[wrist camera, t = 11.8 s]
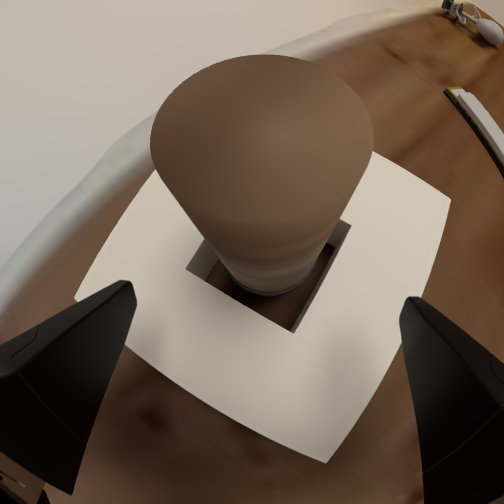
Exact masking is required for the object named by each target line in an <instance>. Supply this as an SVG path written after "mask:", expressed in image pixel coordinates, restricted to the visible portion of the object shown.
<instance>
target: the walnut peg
mask: <svg viewBox="0 0 504 504" xmlns="http://www.w3.org/2000/svg"><path fill="white" fill-rule="evenodd" d="M373 145H374V131H373V126H372V121H371V118H370V116H369V113H368V110H367V109H366V107H365V105H364V103H363V102H362V100H361V99H360V97H359V96H358V95H357V93H356V92H355V91H354V90H353V89H352V88H351V87H350V86H349V85H348V84H347V83H346V82H344V81H343V80H342V79H341V78H339V77H338V76H336V75H335V74H333V73H332V72H330V71H328V70H326V69H325V68H323V67H320V66H318V65H316V64H313V63H311V62H308V61H305V60H301V59H298V58H293V57H288V56H281V55H249V56H242V57H236V58H232V59H228V60H224V61H222V62H219V63H216V64H213V65H211V66H209V67H207V68H204V69H202V70H200V71H199V72H197V73H195V74H193V75H192V76H191V77H189V78H188V79H186V80H185V81H183V82H182V83H181V84H180V85H179V86H178V87H177V88H176V89H174V91H173V92H172V93H171V94H170V95H169V96H168V97H167V99H166V100H165V102H164V103H163V104H162V106H161V107H160V109H159V111H158V113H157V115H156V117H155V120H154V123H153V126H152V131H151V136H150V149H151V156H152V160H153V163H154V166H155V169H156V171H157V172H158V174H159V176H160V178H161V180H162V181H163V182H164V184H165V185H166V187H167V188H168V189H169V191H170V192H171V194H172V195H173V196H174V198H175V199H176V200H177V202H178V203H179V205H180V206H181V207H182V209H183V210H184V211H185V213H186V214H187V216H188V217H189V218H190V220H191V221H192V222H193V224H194V225H195V226H196V228H197V229H198V231H199V232H200V233H201V235H202V236H203V237H204V239H205V240H206V241H207V243H208V244H209V245H210V247H211V248H212V249H213V251H214V252H215V253H216V255H217V256H218V257H219V259H220V260H221V261H222V263H223V266H224V268H225V270H226V271H227V273H228V274H229V275H230V277H231V278H232V279H233V280H234V281H235V282H236V283H237V284H238V285H239V286H241V287H242V288H244V289H246V290H248V291H250V292H252V293H255V294H258V295H261V296H266V297H275V296H280V295H282V294H285V293H286V292H289V291H291V290H293V289H295V288H296V287H298V286H299V285H301V284H302V283H303V282H304V281H305V280H306V279H307V278H308V276H309V275H310V273H311V272H312V270H313V269H314V267H315V264H316V262H317V259H318V256H319V254H320V252H321V251H322V249H323V247H324V246H325V244H326V242H327V240H328V239H329V237H330V235H331V233H332V232H333V230H334V228H335V226H336V224H337V223H338V221H339V219H340V217H341V215H342V214H343V212H344V210H345V208H346V206H347V204H348V203H349V201H350V199H351V197H352V195H353V193H354V191H355V190H356V188H357V186H358V184H359V182H360V180H361V178H362V176H363V174H364V172H365V170H366V168H367V166H368V164H369V161H370V159H371V156H372V151H373Z"/></svg>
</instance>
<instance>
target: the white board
mask: <svg viewBox="0 0 504 504" xmlns="http://www.w3.org/2000/svg"><path fill="white" fill-rule="evenodd" d="M450 201H451V199H449V198H448V197H447V196H445V195H444V194H442V193H441V192H439V191H438V190H436V189H435V188H433V187H432V186H430V185H429V184H427V183H426V182H424V181H423V180H421V179H419V178H418V177H416V176H415V175H413V174H411V173H410V172H408V171H406V170H405V169H403V168H401V167H400V166H398V165H396V164H395V163H393V162H391V161H389V160H388V159H386V158H384V157H382V156H380V155H379V154H377V153H375V152H373V151H372V156H371V159H370V161H369V164H368V166H367V168H366V170H365V172H364V174H363V176H362V178H361V180H360V182H359V184H358V186H357V188H356V190H355V191H354V193H353V195H352V197H351V199H350V201H349V203H348V204H347V206H346V208H345V210H344V212H343V214H342V215H341V217H340V219H339V221H338V223H337V224H336V226H335V228H334V230H333V232H332V233H331V235H330V237H329V239H328V240H327V243H328V244H330V245H332V246H334V247H336V248H335V250H334V252H333V254H332V256H331V257H330V259H329V261H328V263H327V265H326V267H325V269H324V271H323V273H322V275H321V276H320V278H319V280H318V282H317V284H316V286H315V288H314V289H313V291H312V293H311V295H310V297H309V298H308V300H307V302H306V304H305V306H304V307H303V309H302V311H301V313H300V314H299V316H298V318H297V320H296V321H295V323H294V325H293V326H292V328H291V330H290V332H289V331H288V330H286V329H284V328H282V327H281V326H279V325H277V324H275V323H274V322H272V321H270V320H268V319H267V318H265V317H263V316H262V315H260V314H258V313H256V312H255V311H253V310H251V309H250V308H248V307H246V306H245V305H243V304H241V303H239V302H238V301H236V300H234V299H233V298H231V297H229V296H228V295H226V294H225V293H223V292H221V291H220V290H218V289H216V288H215V287H213V286H211V285H210V284H208V283H207V282H205V280H206V278H207V277H208V275H209V274H210V272H211V270H212V269H213V267H214V265H215V264H216V262H217V261H218V259H219V257H218V256H217V255H216V253H215V252H214V251H213V249H212V248H211V247H210V245H209V244H208V243H207V241H206V240H205V239H204V237H203V236H202V235H201V233H200V232H199V231H198V229H197V228H196V226H195V225H194V224H193V222H192V221H191V220H190V218H189V217H188V216H187V214H186V213H185V211H184V210H183V209H182V207H181V206H180V205H179V203H178V202H177V200H176V199H175V198H174V196H173V195H172V194H171V192H170V191H169V189H168V188H167V187H166V185H165V184H164V182H163V181H162V180H161V178H160V176H159V174H158V172H157V171H156V169H155V170H154V172H153V173H152V174H151V176H150V177H149V178H148V180H147V181H146V183H145V184H144V185H143V187H142V188H141V189H140V191H139V192H138V194H137V195H136V196H135V198H134V199H133V201H132V202H131V204H130V205H129V207H128V208H127V210H126V211H125V212H124V214H123V215H122V217H121V219H120V220H119V222H118V223H117V225H116V226H115V228H114V229H113V231H112V232H111V234H110V236H109V237H108V239H107V240H106V242H105V244H104V245H103V247H102V249H101V250H100V252H99V254H98V255H97V257H96V259H95V260H94V262H93V264H92V266H91V267H90V269H89V271H88V273H87V275H86V276H85V278H84V280H83V282H82V284H81V286H80V287H79V289H78V291H77V293H76V295H75V297H74V299H75V300H76V301H77V302H79V301H81V300H83V299H85V298H87V297H88V296H90V295H92V294H94V293H96V292H98V291H99V290H101V289H103V288H105V287H107V286H109V285H111V284H113V283H114V282H116V281H118V280H129V281H131V282H132V284H133V287H134V291H135V295H136V298H137V308H136V311H135V314H134V317H133V320H132V323H131V326H130V329H129V333H128V336H127V339H126V342H125V345H126V346H127V347H129V348H130V349H131V350H132V351H134V352H135V353H136V354H137V355H139V356H140V357H141V358H142V359H144V360H145V361H146V362H148V363H149V364H150V365H152V366H153V367H154V368H156V369H157V370H158V371H160V372H161V373H162V374H164V375H165V376H167V377H168V378H169V379H171V380H172V381H174V382H175V383H176V384H178V385H179V386H181V387H182V388H184V389H185V390H187V391H188V392H190V393H191V394H193V395H194V396H196V397H197V398H199V399H201V400H202V401H204V402H205V403H207V404H208V405H210V406H212V407H213V408H215V409H217V410H218V411H220V412H222V413H223V414H225V415H227V416H228V417H230V418H232V419H234V420H235V421H237V422H239V423H241V424H243V425H244V426H246V427H248V428H250V429H252V430H254V431H256V432H258V433H260V434H262V435H263V436H265V437H267V438H269V439H271V440H274V441H276V442H278V443H280V444H282V445H284V446H286V447H288V448H290V449H293V450H295V451H297V452H299V453H302V454H304V455H306V456H309V457H311V458H314V459H316V460H319V461H321V462H324V463H327V462H328V461H329V459H330V458H331V457H332V455H333V454H334V453H335V451H336V450H337V449H338V447H339V446H340V445H341V443H342V442H343V440H344V439H345V438H346V436H347V435H348V433H349V432H350V430H351V429H352V428H353V426H354V425H355V423H356V422H357V420H358V418H359V417H360V415H361V414H362V412H363V411H364V409H365V408H366V406H367V404H368V403H369V401H370V399H371V398H372V396H373V394H374V393H375V391H376V389H377V388H378V386H379V384H380V382H381V381H382V379H383V377H384V375H385V373H386V371H387V370H388V368H389V366H390V364H391V362H392V360H393V358H394V356H395V354H396V352H397V350H398V348H399V346H400V344H401V342H402V340H401V333H400V326H399V316H400V313H401V310H402V308H403V305H404V302H405V300H406V298H407V297H409V296H418V297H420V298H421V296H422V293H423V291H424V288H425V285H426V283H427V280H428V277H429V274H430V271H431V269H432V266H433V263H434V260H435V256H436V253H437V250H438V247H439V243H440V240H441V237H442V233H443V229H444V226H445V222H446V218H447V214H448V210H449V206H450Z"/></svg>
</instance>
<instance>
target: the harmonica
mask: <svg viewBox="0 0 504 504" xmlns="http://www.w3.org/2000/svg"><path fill="white" fill-rule="evenodd" d="M443 93H444V94H445V95H446V96H447V97H448V99H449V100H450V101H451V102H452V103H453V105H454V106H455V107H456V108H457V110H458V111H459V112H460V113H461V115H462V116H463V117H464V118H465V120H466V121H467V122H468V124H469V125H470V126H471V128H472V129H473V131H474V132H475V133H476V135H477V136H478V138H479V139H480V141H481V142H482V143H483V145H484V146H485V148H486V150H487V151H488V153H489V154H490V156H491V157H492V159H493V161H494V162H495V164H496V165H497V167H498V169H499V171H500V172H501V174H502V176H503V178H504V134H503V133H502V131H501V130H500V128H499V127H498V126H497V124H496V123H495V121H494V120H493V119H492V117H491V116H490V115H489V113H488V112H487V111H486V110H485V108H484V107H483V106H482V105H481V103H480V102H479V101H478V100H477V99H476V98H475V96H474V95H472V94H471V93H466V92H465V91H464V90H463V89H462V88H461V87H448V88H446V90H445V91H444V92H443Z"/></svg>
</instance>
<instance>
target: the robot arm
mask: <svg viewBox="0 0 504 504" xmlns="http://www.w3.org/2000/svg"><path fill="white" fill-rule="evenodd" d="M136 308H137V298H136V295H135V291H134V287H133V284H132V282H131V281H129V280H118V281H116V282H114V283H113V284H111V285H109V286H107V287H105V288H103V289H101V290H99V291H98V292H96V293H94V294H92V295H90V296H88V297H87V298H85V299H83V300H81V301H79V302H77V303H76V304H74V305H72V306H70V307H68V308H67V309H65V310H63V311H61V312H59V313H58V314H56V315H54V316H52V317H50V318H49V319H47V320H45V321H43V322H42V323H41V324H38V325H36V326H35V327H33V328H31V329H29V330H28V331H26V332H24V333H22V334H20V335H18V336H17V337H15V338H13V339H11V340H9V341H7V342H5V343H3V344H1V345H0V504H50V502H49V500H48V497H47V494H46V492H45V491H44V490H43V487H44V485H45V482H47V483H48V484H50V485H52V486H54V487H55V488H57V489H59V490H61V491H63V492H65V493H67V494H69V495H72V493H73V490H74V486H75V482H76V479H77V475H78V472H79V468H80V465H81V462H82V458H83V455H84V452H85V449H86V445H87V442H88V439H89V436H90V433H91V430H92V427H93V424H94V421H95V419H96V416H97V413H98V410H99V407H100V405H101V402H102V399H103V397H104V394H105V391H106V389H107V386H108V384H109V381H110V379H111V376H112V374H113V371H114V369H115V366H116V364H117V361H118V359H119V357H120V354H121V352H122V349H123V347H124V344H125V342H126V339H127V336H128V333H129V329H130V326H131V323H132V320H133V317H134V314H135V311H136ZM399 326H400V333H401V340H402V347H403V354H404V361H405V366H406V371H407V375H408V380H409V384H410V389H411V394H412V399H413V405H414V411H415V416H416V423H417V429H418V436H419V444H420V452H421V462H422V472H423V474H422V475H423V490H424V504H504V364H503V363H502V362H501V361H500V360H499V359H497V358H496V357H495V356H494V355H493V354H492V353H490V352H489V351H488V350H487V349H486V348H484V347H483V346H482V345H481V344H480V343H478V342H477V341H476V340H475V339H473V338H472V337H471V336H470V335H468V334H467V333H466V332H465V331H463V330H462V329H461V328H460V327H458V326H457V325H456V324H455V323H453V322H452V321H451V320H449V319H448V318H447V317H446V316H444V315H443V314H442V313H440V312H439V311H438V310H436V309H435V308H434V307H432V306H431V305H430V304H428V303H427V302H426V301H424V300H423V299H422V298H420V297H418V296H409V297H407V298H406V300H405V302H404V305H403V308H402V310H401V313H400V316H399Z"/></svg>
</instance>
